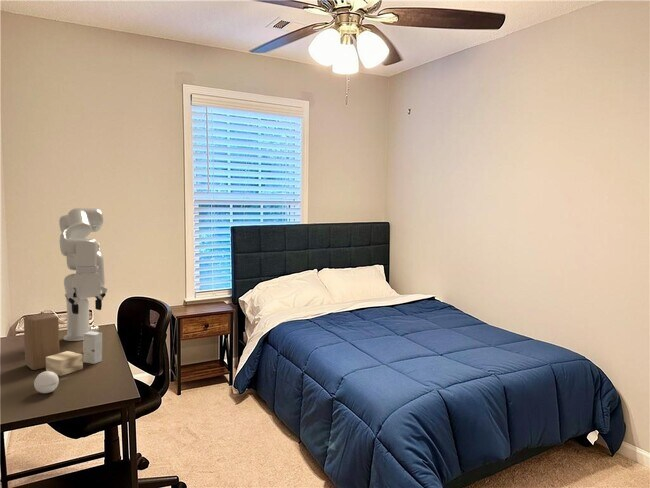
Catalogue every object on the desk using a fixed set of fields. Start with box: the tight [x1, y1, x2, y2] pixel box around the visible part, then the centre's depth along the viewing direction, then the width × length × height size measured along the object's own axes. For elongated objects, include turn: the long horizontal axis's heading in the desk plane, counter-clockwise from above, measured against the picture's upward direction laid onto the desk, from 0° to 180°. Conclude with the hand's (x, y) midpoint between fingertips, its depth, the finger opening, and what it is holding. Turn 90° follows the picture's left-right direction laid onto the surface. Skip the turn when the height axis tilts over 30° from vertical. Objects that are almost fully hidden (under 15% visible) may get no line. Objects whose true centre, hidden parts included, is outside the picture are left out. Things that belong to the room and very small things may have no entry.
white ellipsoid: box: [33, 370, 67, 394], centre depth 157 cm, size 10×7×7 cm
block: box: [23, 312, 60, 371], centre depth 183 cm, size 10×10×20 cm
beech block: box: [45, 350, 84, 377], centre depth 178 cm, size 9×9×6 cm
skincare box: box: [82, 331, 103, 365], centre depth 188 cm, size 6×4×12 cm
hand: (87, 311), depth 187 cm, fingers open, 9 cm apart
